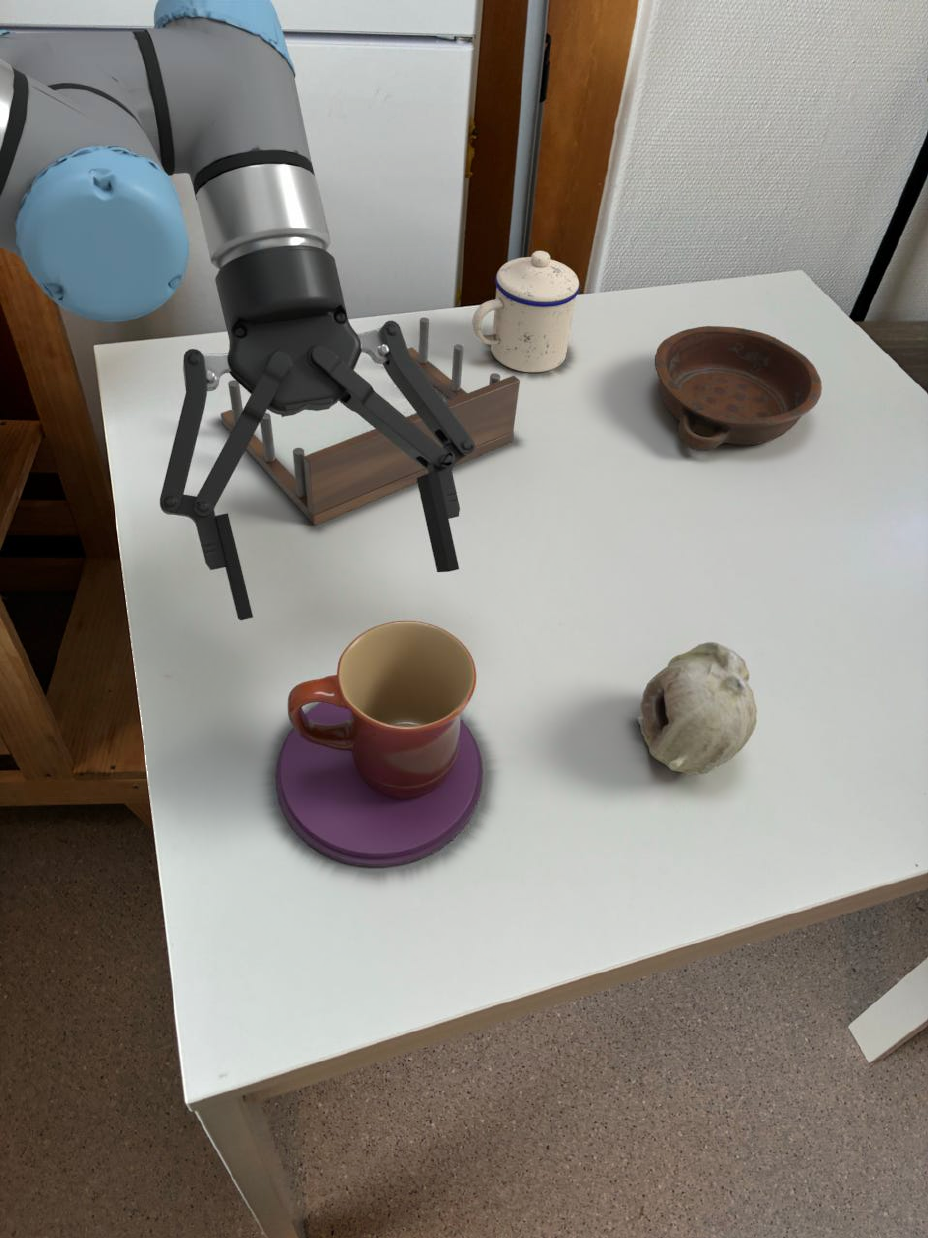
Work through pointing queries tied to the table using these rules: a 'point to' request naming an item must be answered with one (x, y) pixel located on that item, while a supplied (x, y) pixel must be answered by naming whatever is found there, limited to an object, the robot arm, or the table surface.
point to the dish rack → (382, 443)
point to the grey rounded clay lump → (698, 709)
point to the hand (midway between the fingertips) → (350, 594)
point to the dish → (734, 385)
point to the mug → (394, 706)
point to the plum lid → (370, 801)
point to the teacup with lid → (530, 313)
